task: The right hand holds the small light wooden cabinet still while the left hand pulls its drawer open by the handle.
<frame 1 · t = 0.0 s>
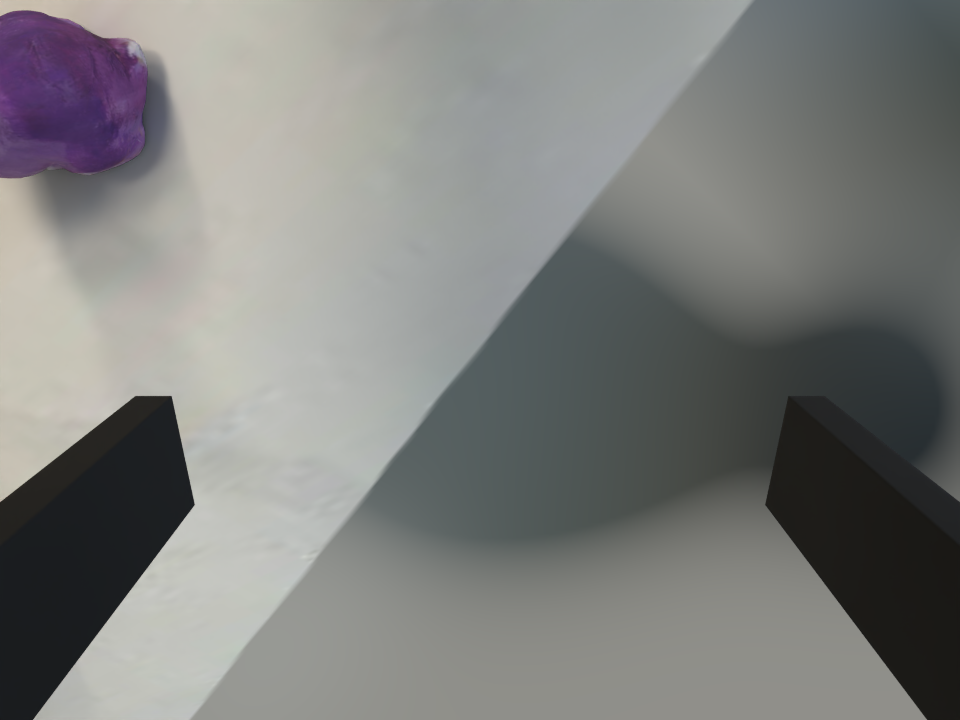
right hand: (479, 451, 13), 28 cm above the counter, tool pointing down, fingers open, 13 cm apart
figurine: (83, 115, 36), on the counter
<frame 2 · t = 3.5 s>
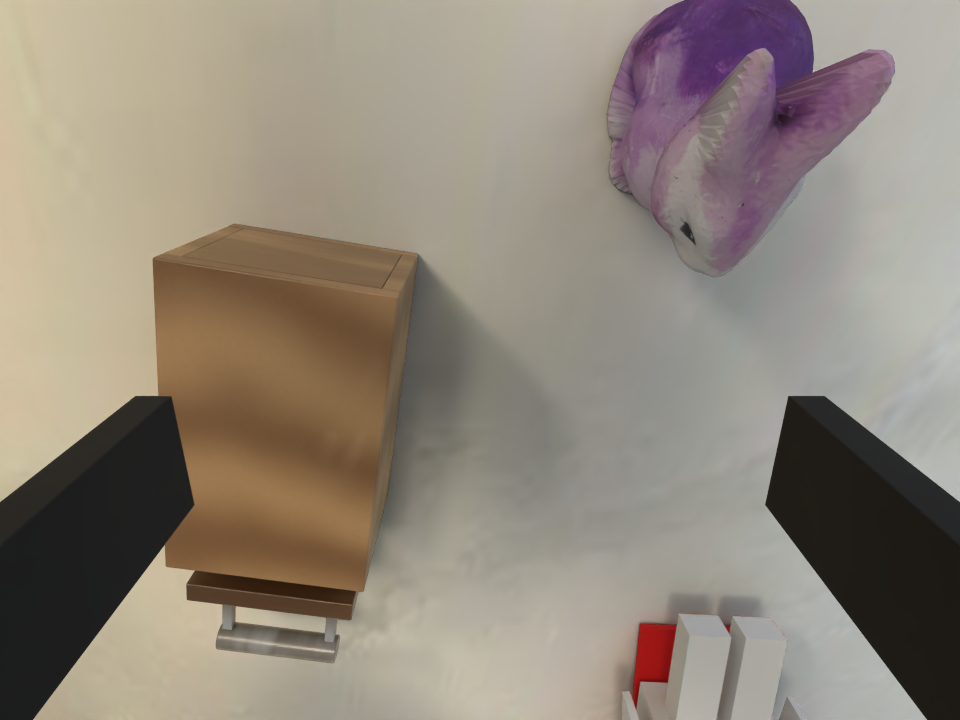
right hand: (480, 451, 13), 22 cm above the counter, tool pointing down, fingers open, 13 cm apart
cabinet: (318, 371, 36), on the counter
drawer: (291, 503, 35), point 4 cm above the counter, slide at 1.9 cm
figurine: (680, 120, 31), on the counter
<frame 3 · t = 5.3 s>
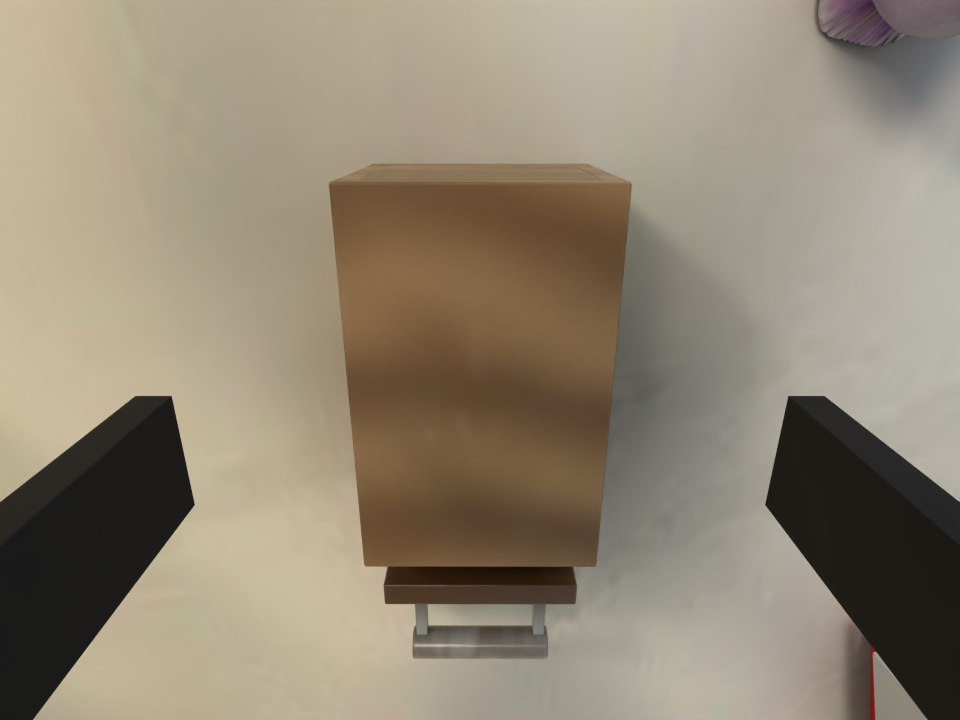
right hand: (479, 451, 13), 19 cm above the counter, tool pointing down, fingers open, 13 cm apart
toy: (910, 687, 42), on the counter
cabinet: (480, 327, 32), on the counter
drawer: (480, 478, 30), point 4 cm above the counter, slide at 1.9 cm
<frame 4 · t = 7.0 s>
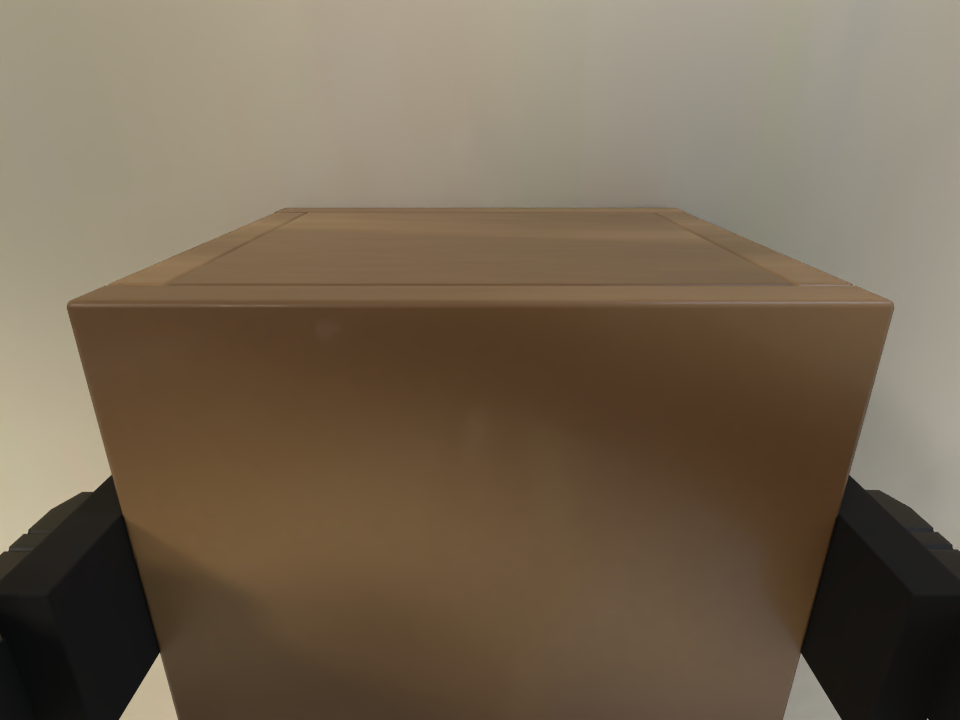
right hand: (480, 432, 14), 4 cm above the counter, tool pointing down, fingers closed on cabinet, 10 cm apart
cabinet: (480, 476, 19), on the counter, touching right hand
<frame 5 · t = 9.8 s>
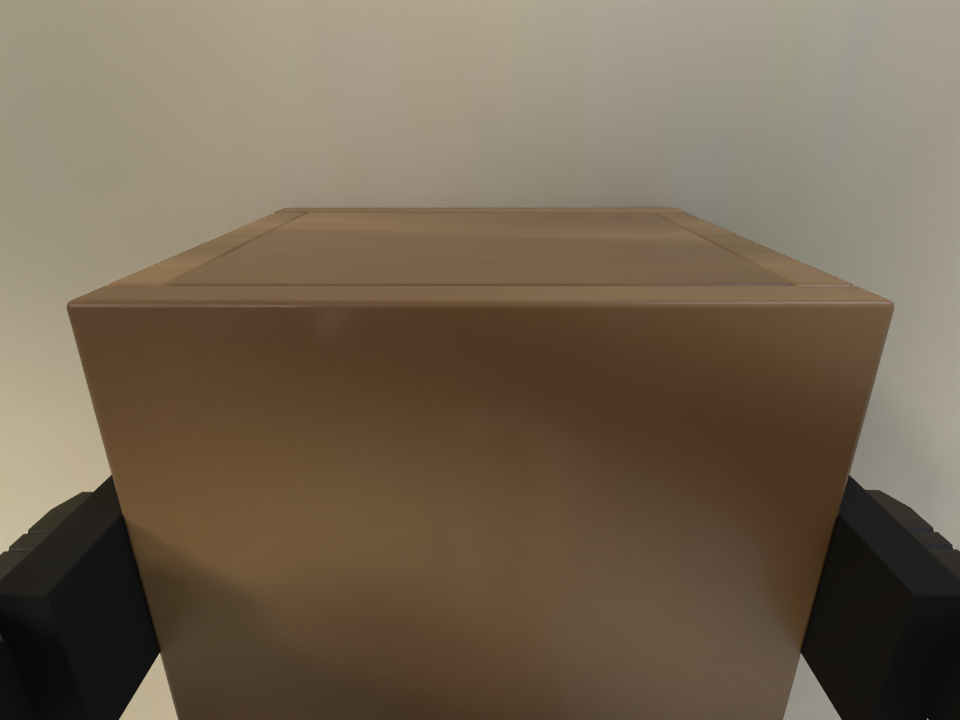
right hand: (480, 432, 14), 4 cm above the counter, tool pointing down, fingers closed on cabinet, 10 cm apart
cabinet: (480, 476, 19), on the counter, touching right hand
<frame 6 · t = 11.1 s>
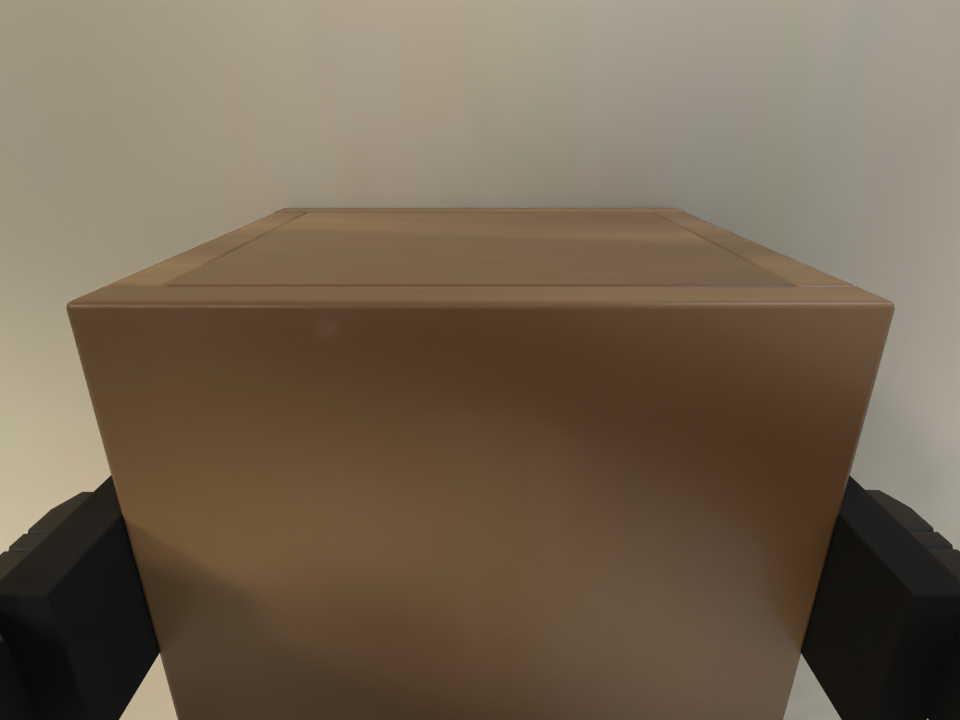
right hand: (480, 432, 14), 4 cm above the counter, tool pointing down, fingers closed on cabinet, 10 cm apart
cabinet: (480, 476, 19), on the counter, touching right hand
when the right hand's fingers open (4 cm above the counter, at t = 12.7 s): cabinet stays where it is, on the counter.
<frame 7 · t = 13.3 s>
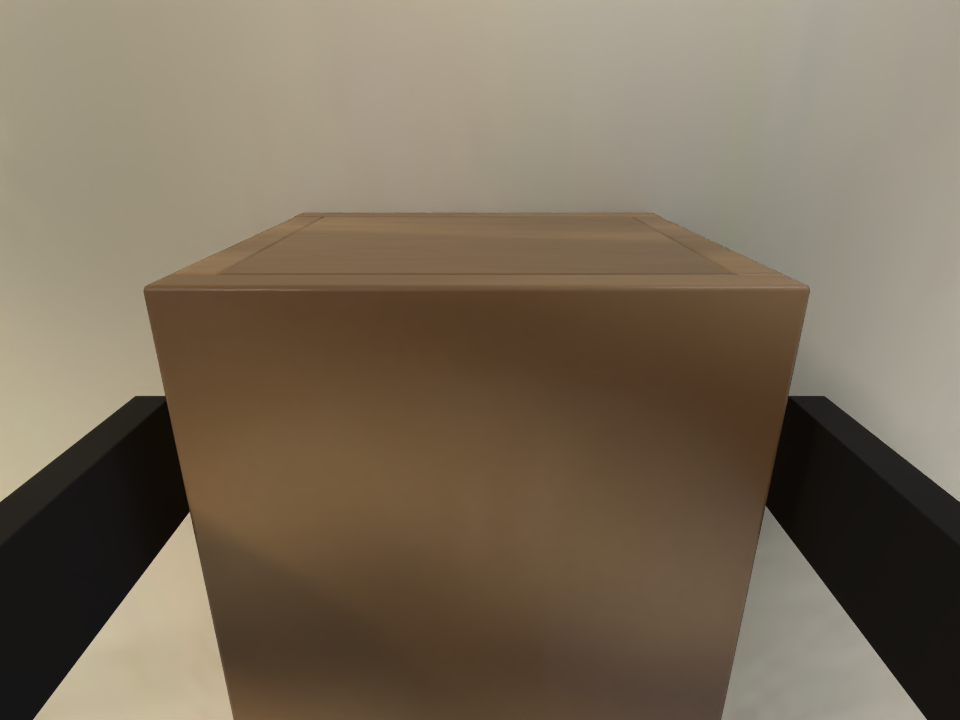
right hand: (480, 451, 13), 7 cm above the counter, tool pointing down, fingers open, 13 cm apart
cabinet: (478, 458, 20), on the counter
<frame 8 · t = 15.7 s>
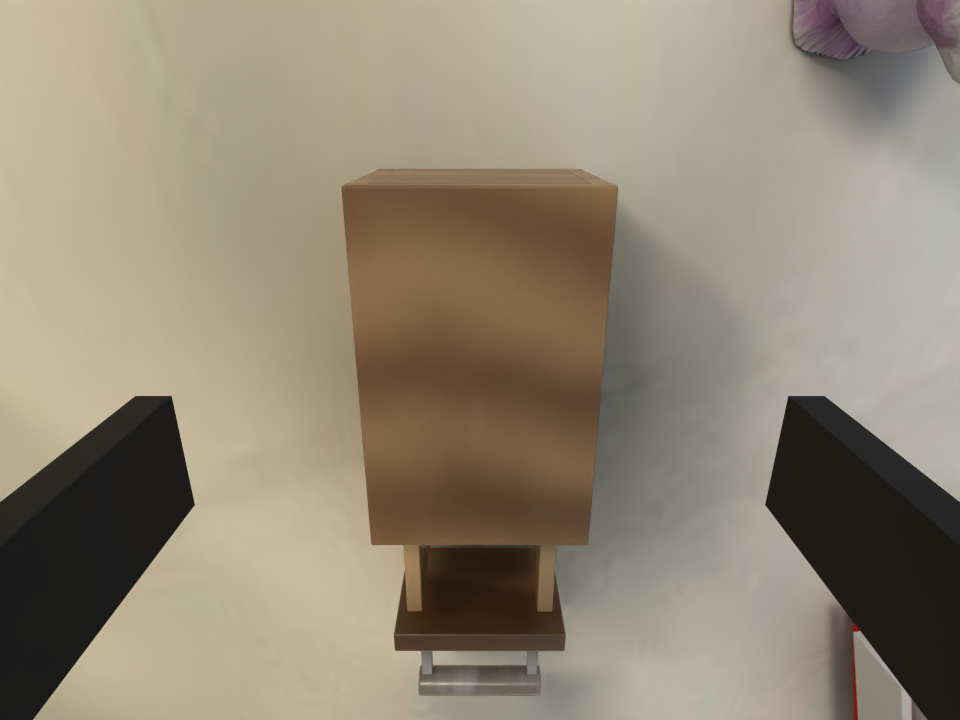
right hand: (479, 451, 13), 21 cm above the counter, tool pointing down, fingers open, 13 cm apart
toy: (893, 669, 43), on the counter
cabinet: (479, 322, 33), on the counter
drawer: (479, 536, 33), point 4 cm above the counter, slide at 6.6 cm
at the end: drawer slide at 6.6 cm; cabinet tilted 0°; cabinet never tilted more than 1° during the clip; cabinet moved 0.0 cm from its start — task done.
